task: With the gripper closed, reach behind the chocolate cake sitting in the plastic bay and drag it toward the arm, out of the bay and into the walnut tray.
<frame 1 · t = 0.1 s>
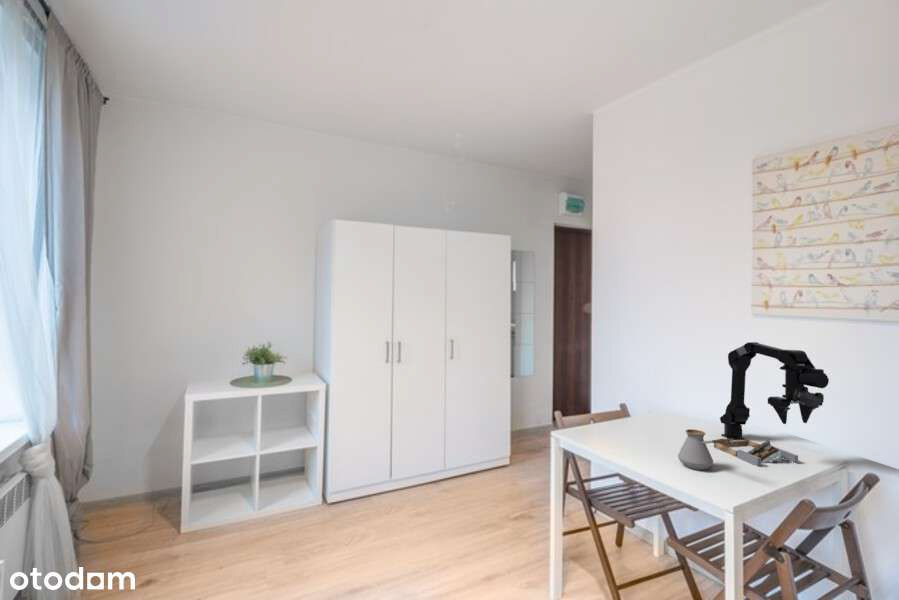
hand: (794, 423, 162), 15 cm above the table, tool pointing down, fingers open, 9 cm apart
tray: (742, 450, 173), on the table
bay: (767, 460, 163), on the table
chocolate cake: (765, 461, 163), on the table
coffee pot: (707, 471, 152), on the table
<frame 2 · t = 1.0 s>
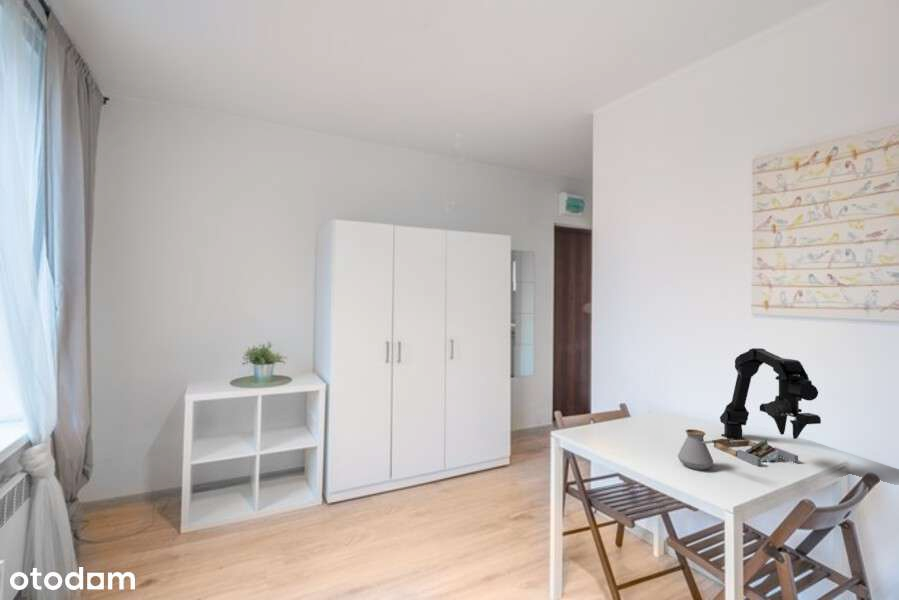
hand: (788, 436, 154), 12 cm above the table, tool pointing down, fingers open, 5 cm apart
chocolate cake: (763, 460, 164), on the table
everything else where it was.
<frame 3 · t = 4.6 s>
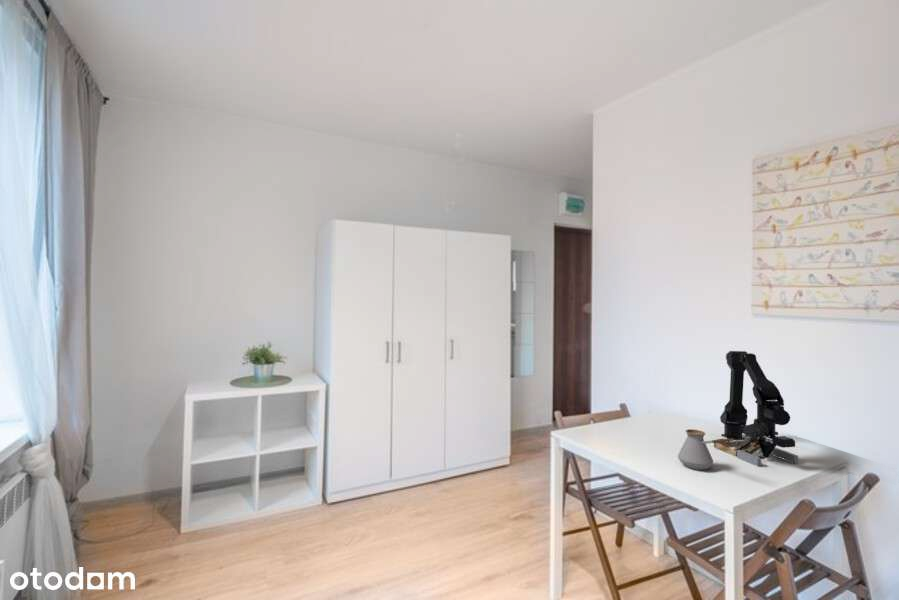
hand: (765, 457, 163), 1 cm above the table, tool pointing down, fingers closed
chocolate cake: (751, 456, 168), on the table, touching gripper
everything else where it was.
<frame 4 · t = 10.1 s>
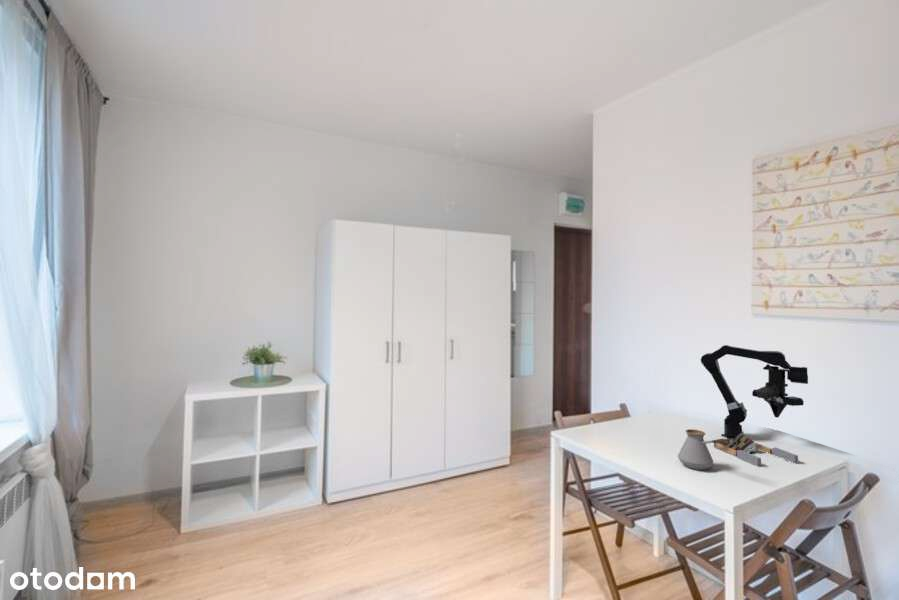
hand: (776, 417, 180), 12 cm above the table, tool pointing down, fingers closed
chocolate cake: (742, 452, 172), on the table
everything else where it was.
at the end: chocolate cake inside the target area (1.5 cm from its centre), on the table; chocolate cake tilted 0°; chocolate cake moved 10.3 cm from its start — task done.
